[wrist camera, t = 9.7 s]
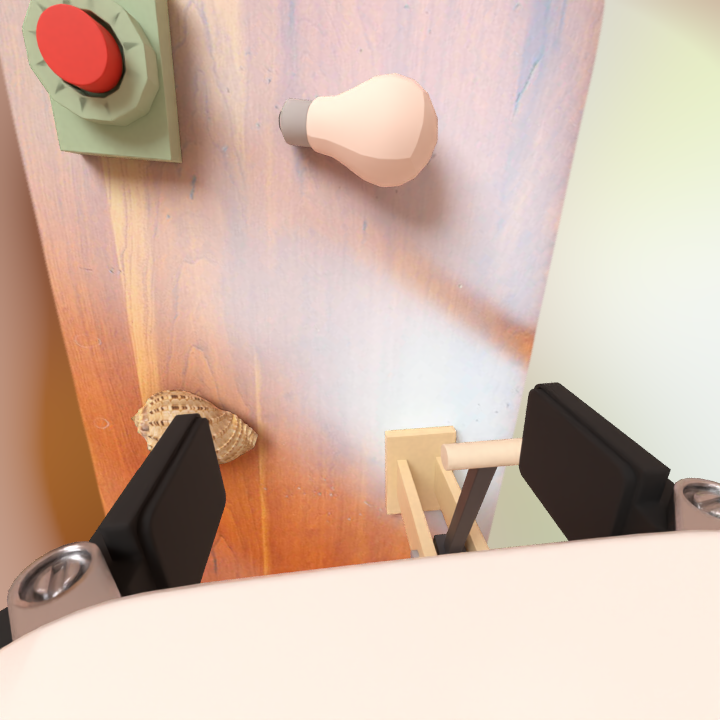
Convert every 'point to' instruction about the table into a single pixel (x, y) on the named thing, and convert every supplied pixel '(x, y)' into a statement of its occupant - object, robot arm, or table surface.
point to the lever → (472, 484)
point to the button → (79, 48)
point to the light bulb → (368, 128)
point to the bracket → (422, 485)
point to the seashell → (224, 426)
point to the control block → (129, 97)
